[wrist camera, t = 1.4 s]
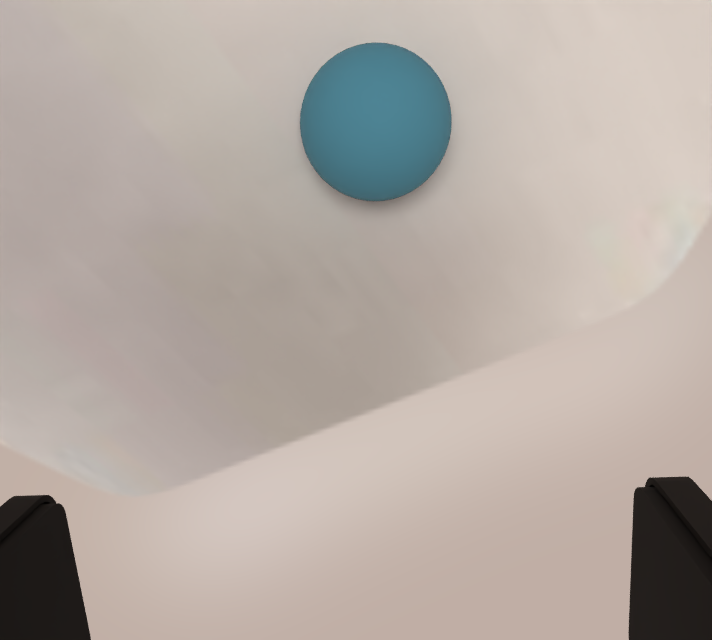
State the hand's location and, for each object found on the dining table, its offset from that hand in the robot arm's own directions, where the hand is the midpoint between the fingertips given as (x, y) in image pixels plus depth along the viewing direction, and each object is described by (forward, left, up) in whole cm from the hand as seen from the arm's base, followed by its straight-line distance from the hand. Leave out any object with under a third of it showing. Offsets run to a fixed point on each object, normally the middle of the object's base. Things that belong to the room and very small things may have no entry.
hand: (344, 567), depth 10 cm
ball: (+2, +7, -18) cm, 19 cm away
